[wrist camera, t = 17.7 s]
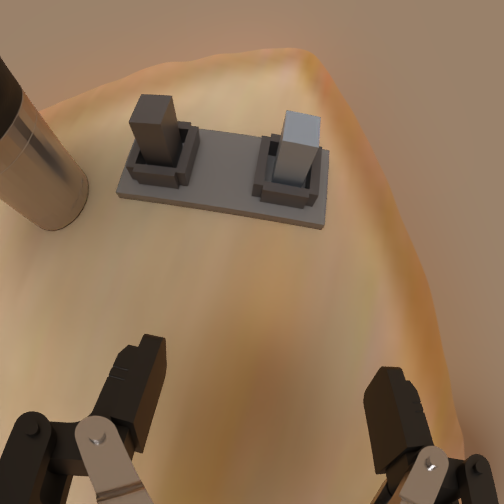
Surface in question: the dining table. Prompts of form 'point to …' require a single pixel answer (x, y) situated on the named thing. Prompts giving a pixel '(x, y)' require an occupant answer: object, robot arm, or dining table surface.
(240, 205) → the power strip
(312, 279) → the dining table surface
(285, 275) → the dining table surface
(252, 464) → the dining table surface
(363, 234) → the dining table surface
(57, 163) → the robot arm
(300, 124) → the plug
